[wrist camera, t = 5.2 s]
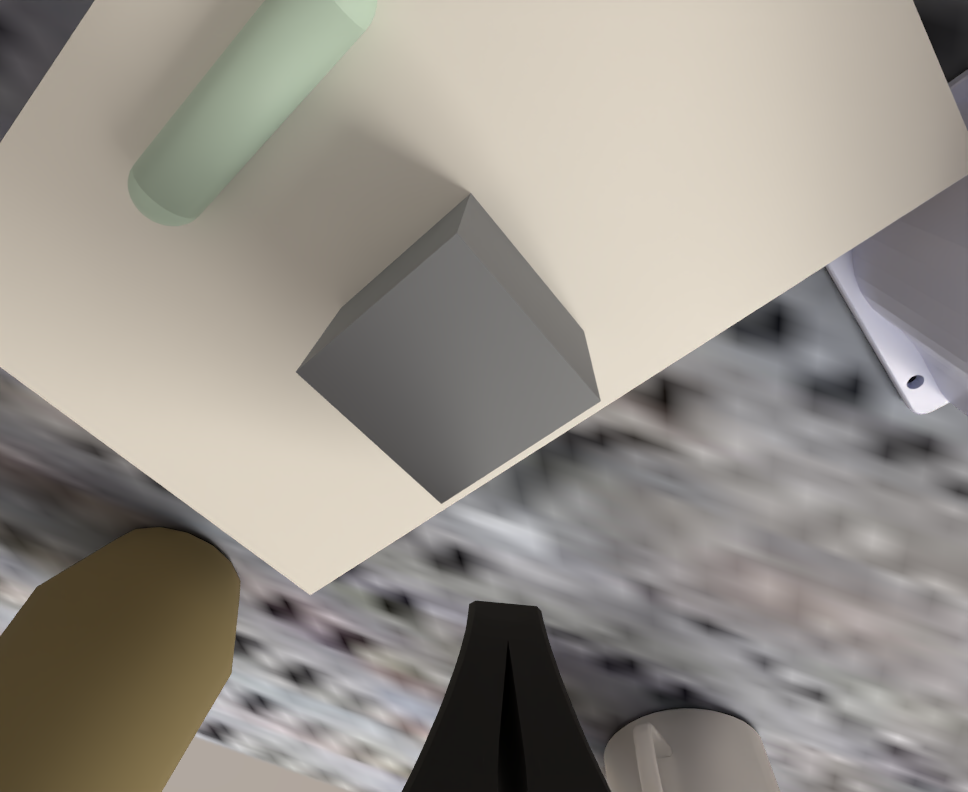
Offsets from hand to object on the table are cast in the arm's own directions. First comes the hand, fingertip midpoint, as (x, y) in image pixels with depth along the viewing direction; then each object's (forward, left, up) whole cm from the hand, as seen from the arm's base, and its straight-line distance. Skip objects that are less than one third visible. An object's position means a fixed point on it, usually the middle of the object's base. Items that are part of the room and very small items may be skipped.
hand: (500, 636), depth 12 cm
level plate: (+7, -2, -5) cm, 9 cm away
